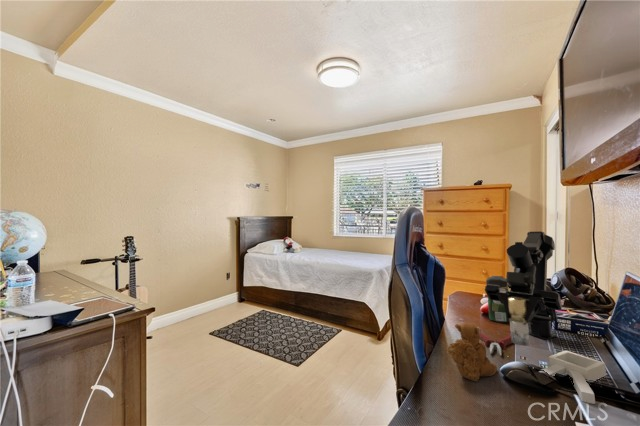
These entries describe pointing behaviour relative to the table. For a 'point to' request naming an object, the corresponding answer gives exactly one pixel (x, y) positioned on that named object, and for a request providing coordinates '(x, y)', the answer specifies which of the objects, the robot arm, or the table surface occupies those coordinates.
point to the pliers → (498, 345)
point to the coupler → (518, 321)
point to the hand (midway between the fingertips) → (517, 320)
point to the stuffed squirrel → (471, 353)
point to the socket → (577, 371)
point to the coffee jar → (496, 307)
